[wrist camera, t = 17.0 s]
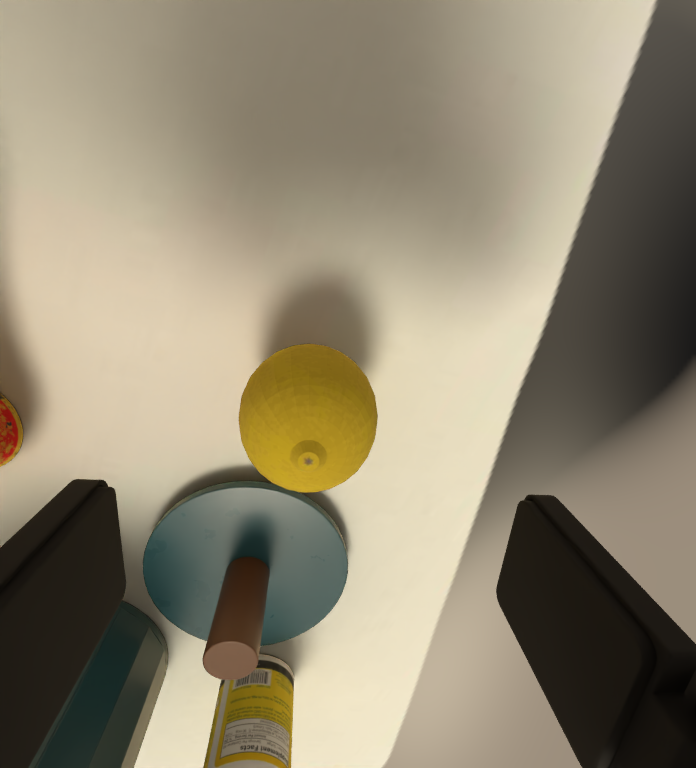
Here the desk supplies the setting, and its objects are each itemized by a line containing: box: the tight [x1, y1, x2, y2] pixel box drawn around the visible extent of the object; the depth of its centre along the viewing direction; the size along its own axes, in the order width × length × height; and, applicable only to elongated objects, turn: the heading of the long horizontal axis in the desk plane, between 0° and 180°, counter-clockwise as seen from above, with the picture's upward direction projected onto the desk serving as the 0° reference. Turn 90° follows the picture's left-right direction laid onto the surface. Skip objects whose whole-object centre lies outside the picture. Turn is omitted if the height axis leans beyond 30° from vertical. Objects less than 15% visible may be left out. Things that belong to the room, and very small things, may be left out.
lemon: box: [239, 344, 378, 492], centre depth 16 cm, size 6×6×8 cm
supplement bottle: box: [203, 654, 294, 768], centre depth 23 cm, size 5×5×8 cm
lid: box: [143, 481, 348, 680], centre depth 20 cm, size 11×11×6 cm
